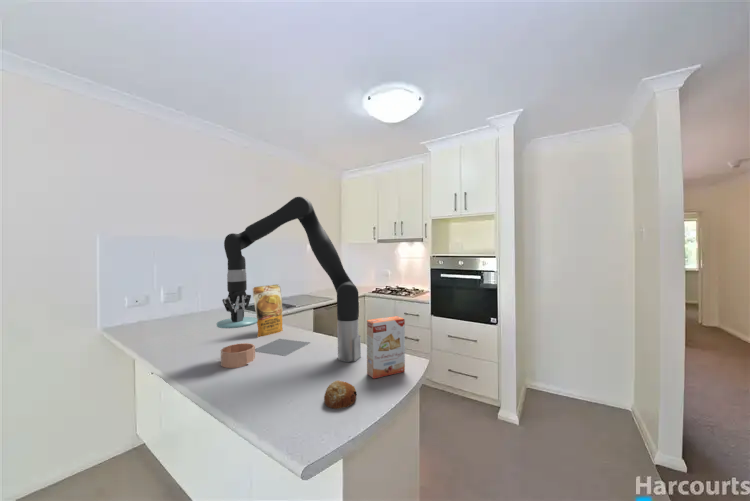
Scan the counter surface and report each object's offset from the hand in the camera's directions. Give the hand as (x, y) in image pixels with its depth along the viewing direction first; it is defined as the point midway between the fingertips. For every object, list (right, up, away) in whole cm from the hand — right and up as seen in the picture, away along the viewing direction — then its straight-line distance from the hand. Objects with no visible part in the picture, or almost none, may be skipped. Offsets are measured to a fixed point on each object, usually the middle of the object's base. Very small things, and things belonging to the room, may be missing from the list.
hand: (237, 319), depth 129 cm
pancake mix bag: (-1, -18, +42) cm, 46 cm away
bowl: (0, -18, 0) cm, 18 cm away
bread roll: (+48, -18, -34) cm, 62 cm away
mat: (+14, -18, +17) cm, 28 cm away
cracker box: (+64, -18, -14) cm, 67 cm away
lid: (0, -2, 0) cm, 2 cm away
